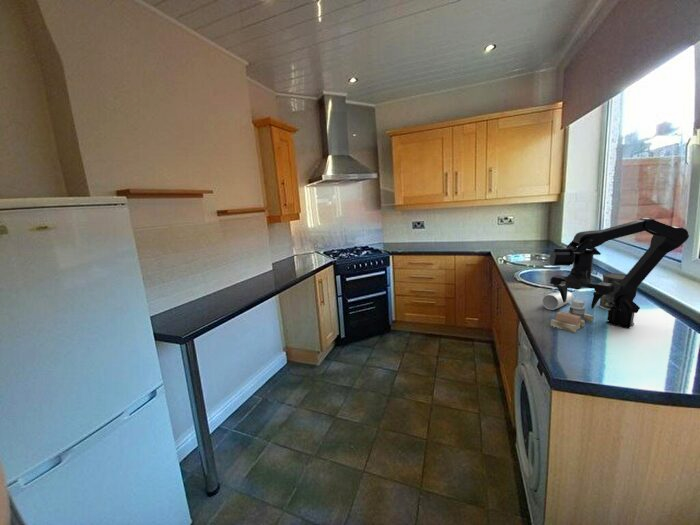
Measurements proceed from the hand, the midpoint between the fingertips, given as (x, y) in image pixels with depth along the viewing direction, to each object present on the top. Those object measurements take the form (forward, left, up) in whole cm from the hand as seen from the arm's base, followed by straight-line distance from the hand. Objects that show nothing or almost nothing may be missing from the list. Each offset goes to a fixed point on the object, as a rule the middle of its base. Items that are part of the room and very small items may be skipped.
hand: (578, 305), depth 117 cm
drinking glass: (+11, -21, -4) cm, 24 cm away
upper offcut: (0, +8, -5) cm, 9 cm away
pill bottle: (0, 0, -7) cm, 7 cm away
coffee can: (-4, -27, -7) cm, 29 cm away
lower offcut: (0, +8, -7) cm, 10 cm away
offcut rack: (0, +4, -7) cm, 8 cm away
